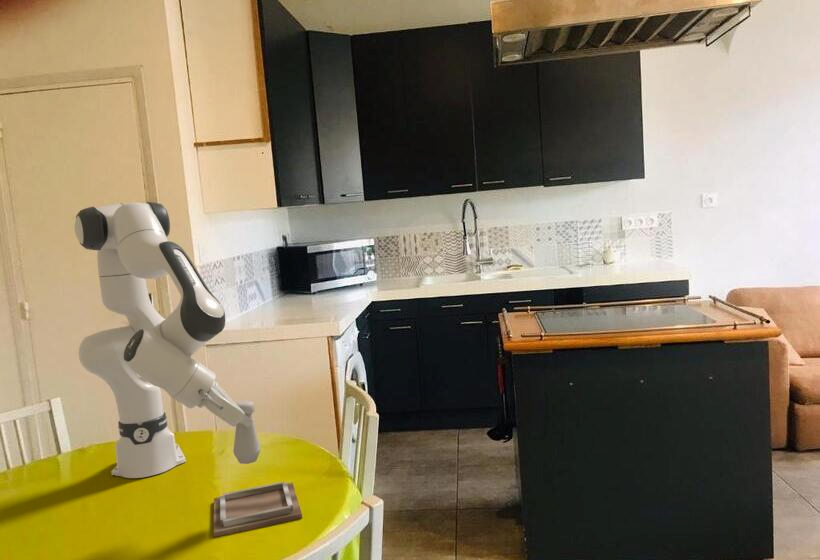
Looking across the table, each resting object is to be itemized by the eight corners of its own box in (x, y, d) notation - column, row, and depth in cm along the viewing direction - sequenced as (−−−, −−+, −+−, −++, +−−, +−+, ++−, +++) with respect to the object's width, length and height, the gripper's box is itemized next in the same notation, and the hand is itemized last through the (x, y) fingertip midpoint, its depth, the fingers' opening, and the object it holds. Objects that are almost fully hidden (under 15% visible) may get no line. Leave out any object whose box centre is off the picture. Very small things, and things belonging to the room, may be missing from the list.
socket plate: (214, 502, 155) (213, 493, 155) (292, 486, 160) (291, 477, 160) (214, 537, 138) (213, 526, 138) (302, 518, 143) (301, 508, 142)
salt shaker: (254, 465, 144) (250, 406, 143) (229, 465, 145) (225, 405, 144) (265, 456, 150) (261, 398, 148) (241, 455, 151) (237, 398, 150)
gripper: (214, 383, 133) (269, 420, 138) (198, 365, 151) (246, 399, 157) (194, 410, 132) (249, 446, 137) (180, 389, 150) (229, 421, 155)
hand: (248, 421), depth 147 cm, fingers closed on salt shaker, 3 cm apart
